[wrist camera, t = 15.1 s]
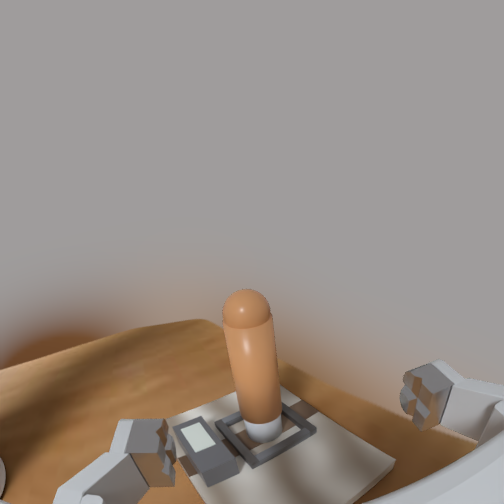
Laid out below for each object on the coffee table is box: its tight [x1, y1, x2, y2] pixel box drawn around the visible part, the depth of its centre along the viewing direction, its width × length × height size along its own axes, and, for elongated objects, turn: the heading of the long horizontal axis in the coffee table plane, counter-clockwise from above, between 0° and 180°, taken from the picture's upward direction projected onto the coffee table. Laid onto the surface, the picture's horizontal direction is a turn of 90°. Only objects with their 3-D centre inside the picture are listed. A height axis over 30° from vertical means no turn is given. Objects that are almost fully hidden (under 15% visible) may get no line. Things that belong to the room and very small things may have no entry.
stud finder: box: [172, 416, 240, 487], centre depth 24 cm, size 3×7×2 cm, turn 32°
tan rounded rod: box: [223, 289, 282, 443], centre depth 26 cm, size 4×4×15 cm
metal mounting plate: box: [165, 385, 396, 504], centre depth 25 cm, size 15×20×2 cm
